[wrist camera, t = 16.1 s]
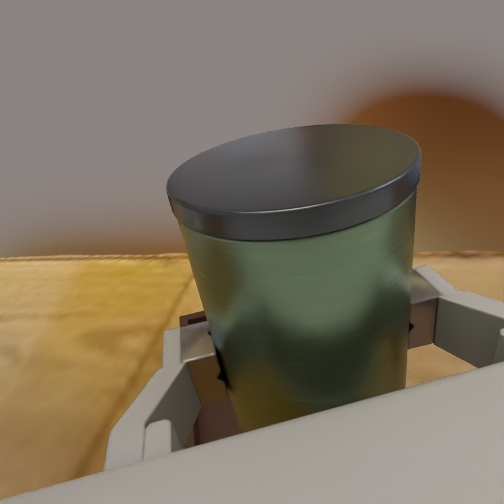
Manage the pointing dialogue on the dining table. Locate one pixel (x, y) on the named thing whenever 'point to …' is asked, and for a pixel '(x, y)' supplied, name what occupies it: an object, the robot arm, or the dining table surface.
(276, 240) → the tin canister
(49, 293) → the dining table surface
